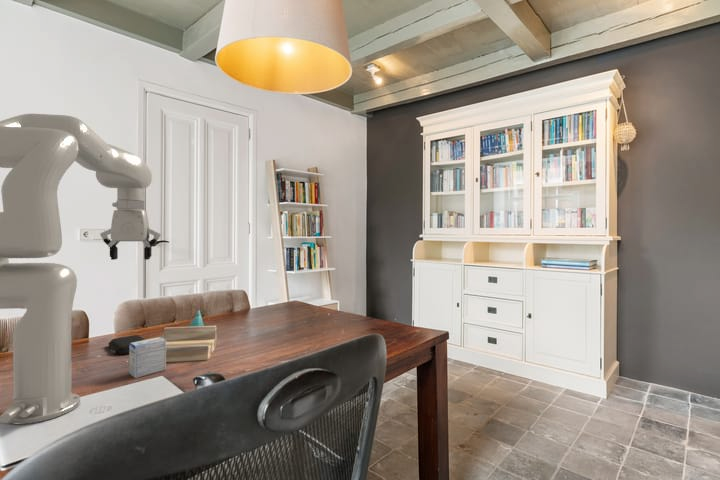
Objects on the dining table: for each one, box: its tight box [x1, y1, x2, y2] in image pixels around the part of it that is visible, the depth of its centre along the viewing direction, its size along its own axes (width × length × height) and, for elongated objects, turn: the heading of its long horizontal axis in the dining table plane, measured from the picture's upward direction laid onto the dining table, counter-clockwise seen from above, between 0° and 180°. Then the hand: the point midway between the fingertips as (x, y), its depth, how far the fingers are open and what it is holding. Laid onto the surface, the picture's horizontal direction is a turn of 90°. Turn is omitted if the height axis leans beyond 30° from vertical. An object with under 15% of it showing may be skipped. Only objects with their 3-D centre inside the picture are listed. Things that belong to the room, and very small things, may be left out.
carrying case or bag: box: [108, 334, 146, 356], centre depth 124 cm, size 11×3×15 cm
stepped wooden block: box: [163, 325, 217, 363], centre depth 119 cm, size 14×16×7 cm
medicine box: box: [128, 336, 167, 379], centre depth 103 cm, size 8×4×9 cm, turn 141°
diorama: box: [161, 310, 205, 339], centre depth 142 cm, size 12×20×9 cm, turn 140°
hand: (130, 259), depth 122 cm, fingers open, 9 cm apart
